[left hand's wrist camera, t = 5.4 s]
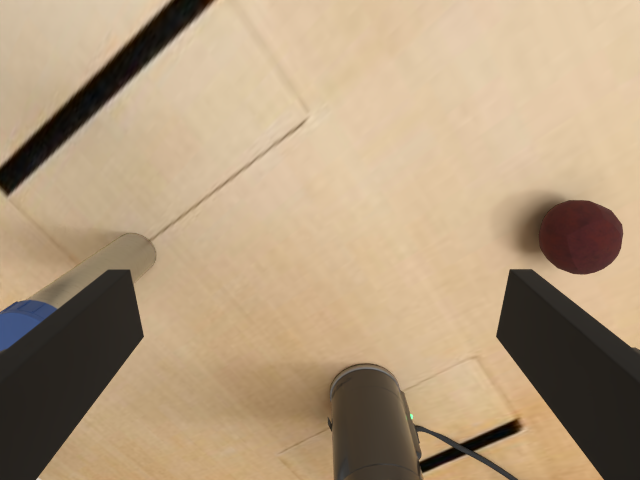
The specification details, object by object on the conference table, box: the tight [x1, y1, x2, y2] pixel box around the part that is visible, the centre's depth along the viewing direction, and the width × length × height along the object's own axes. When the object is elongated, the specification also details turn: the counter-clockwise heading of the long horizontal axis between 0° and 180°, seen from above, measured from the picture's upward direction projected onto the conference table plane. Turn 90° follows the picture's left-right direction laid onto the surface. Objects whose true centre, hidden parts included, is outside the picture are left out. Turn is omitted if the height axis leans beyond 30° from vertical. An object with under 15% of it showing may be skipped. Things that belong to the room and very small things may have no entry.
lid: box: [0, 300, 57, 351], centre depth 27 cm, size 5×5×2 cm
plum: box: [539, 200, 623, 274], centre depth 38 cm, size 7×8×7 cm
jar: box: [27, 233, 156, 309], centre depth 35 cm, size 5×5×17 cm
